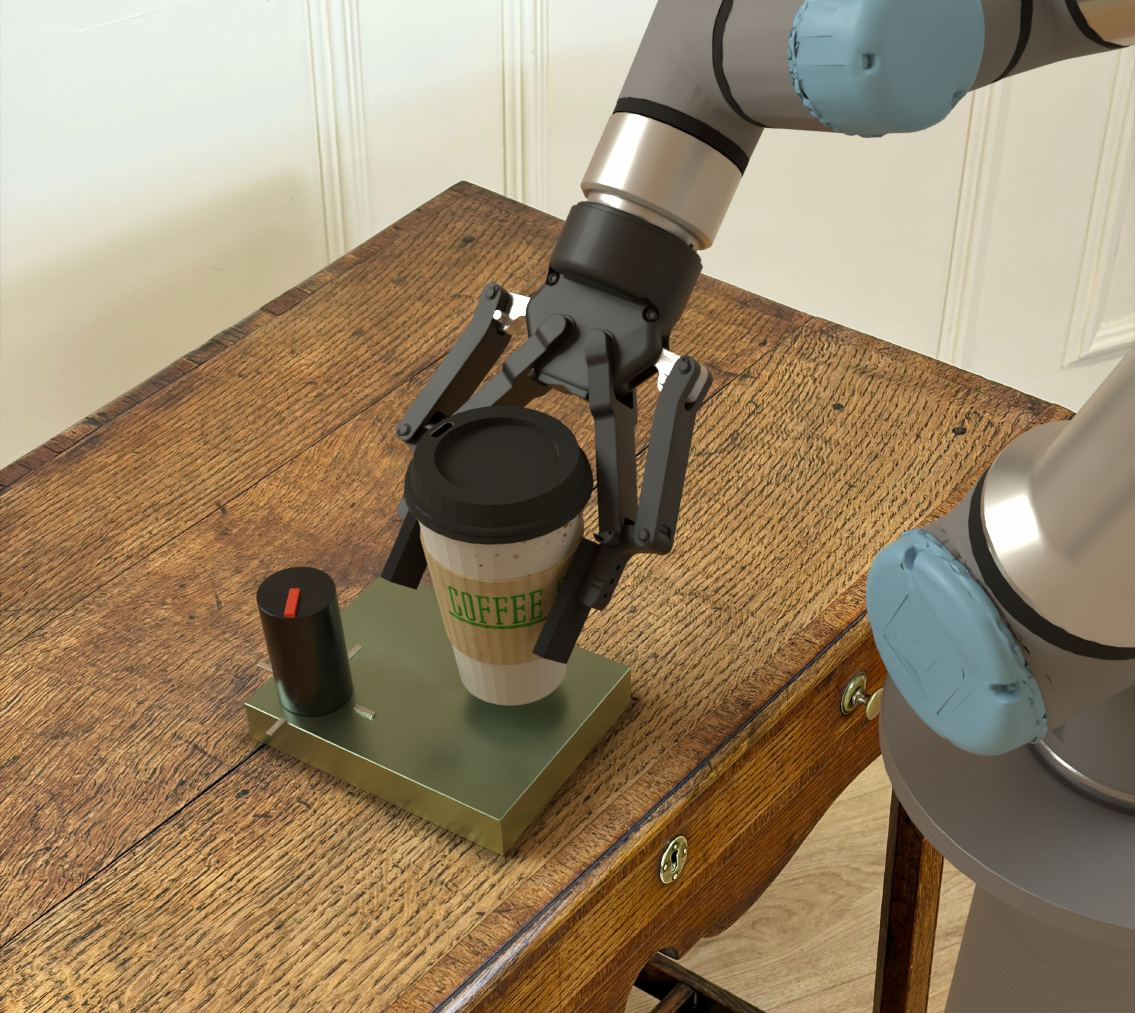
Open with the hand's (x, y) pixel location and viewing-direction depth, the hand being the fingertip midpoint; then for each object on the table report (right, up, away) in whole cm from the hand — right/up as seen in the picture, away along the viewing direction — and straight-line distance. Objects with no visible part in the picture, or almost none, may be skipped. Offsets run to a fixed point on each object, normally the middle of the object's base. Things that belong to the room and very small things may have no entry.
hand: (471, 620), depth 86 cm
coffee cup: (+2, -2, +6) cm, 7 cm away
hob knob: (-10, -3, +7) cm, 13 cm away
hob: (-2, -5, +10) cm, 11 cm away
